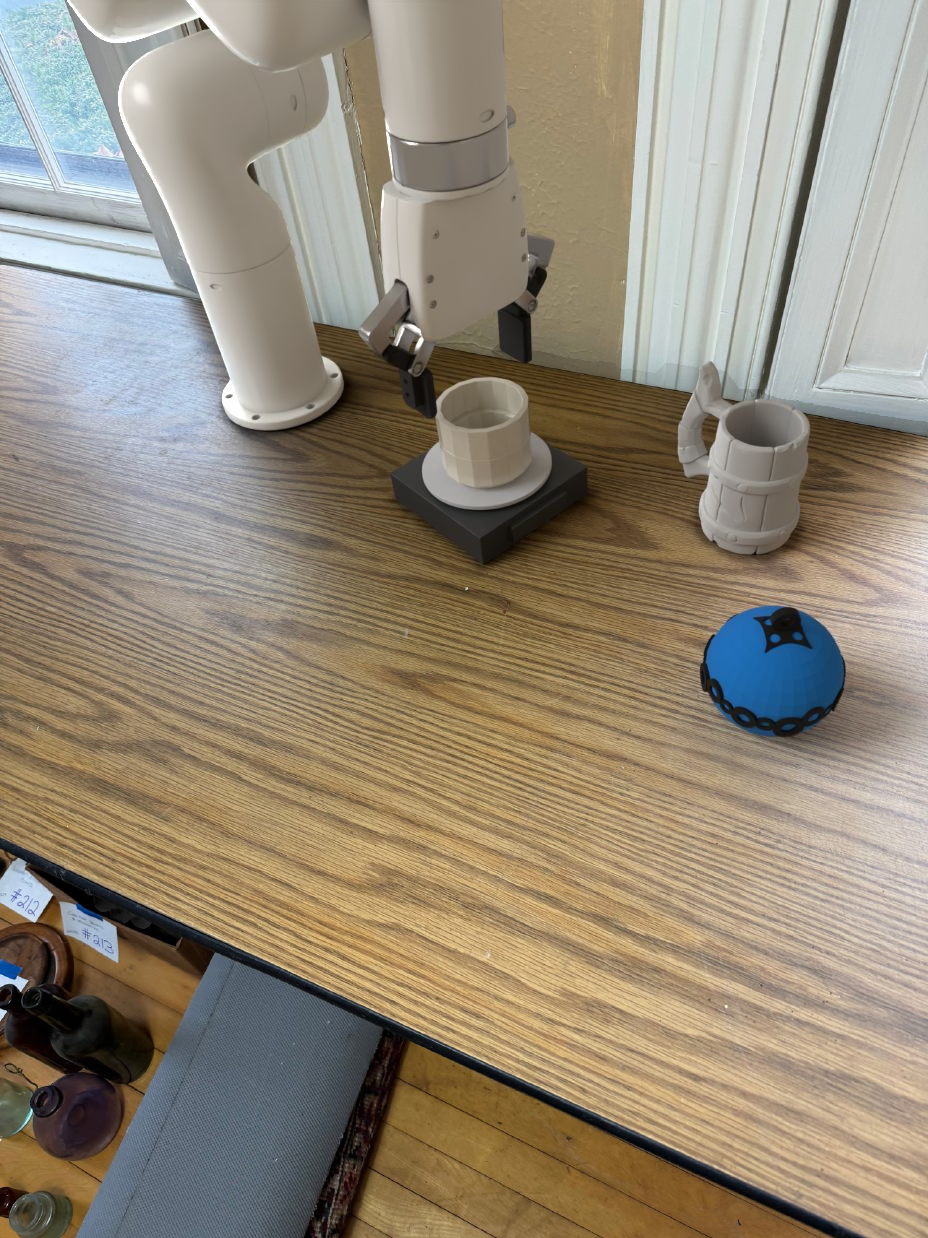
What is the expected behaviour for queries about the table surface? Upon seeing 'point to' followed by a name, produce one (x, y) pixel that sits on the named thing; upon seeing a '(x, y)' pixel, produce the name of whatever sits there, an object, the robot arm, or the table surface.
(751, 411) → the mug
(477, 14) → the robot arm
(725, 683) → the ornament
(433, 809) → the table surface
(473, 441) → the off-white faceted cup
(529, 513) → the scale
